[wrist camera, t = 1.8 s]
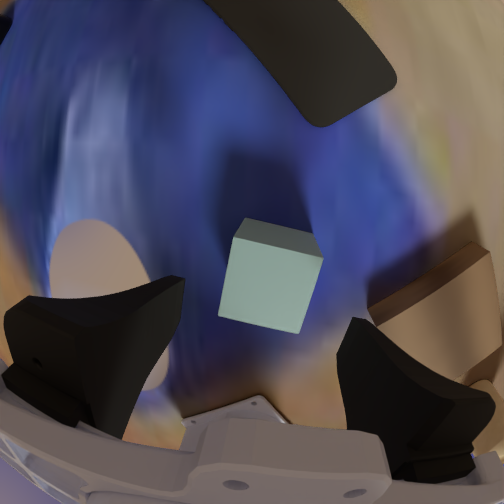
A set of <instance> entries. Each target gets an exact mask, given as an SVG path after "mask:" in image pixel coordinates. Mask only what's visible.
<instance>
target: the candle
mask: <svg viewBox="0 0 504 504" xmlns="http://www.w3.org/2000/svg"><path fill="white" fill-rule="evenodd" d="M469 387H471V388H474V389H478V390H481V391H485V392H488V393H489V394H490V395H491V397H492V398H493V400H494V402H495V404H496V409H495V413H494V415H493V417H492V419H491V421H490V422H489V423H488V425H487V426H486V427H485V428H484V430H483V431H482V432H481V433H480V434H479V435H478V436H477V438H476V439H475V440H474V441H473V442H472V444H473V446H474V451H473V454H474V456H475V457H476V456H478V455H481V454H484V453H488V452H492V451H496V452H497V454H498V456H499V458H500V460H501V462H502V464H504V400H503V399H502V398H501V396H500V395H499V393H498V392H497V390H496V389H495V387H494V386H493V385H492V383H491V382H490V381H488V380H480V381H478V382H476V383H474V384H472V385H471V386H469Z"/></svg>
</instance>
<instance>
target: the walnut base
mask: <svg viewBox="0 0 504 504" xmlns="http://www.w3.org/2000/svg"><path fill="white" fill-rule="evenodd" d="M367 310H368V312H369V314H370V316H371V318H372V320H373V322H374V324H375V326H376V327H377V328H378V329H379V330H380V331H381V332H382V333H384V334H385V335H386V336H387V337H388V338H389V339H390V340H392V341H393V342H394V343H395V344H396V345H397V346H399V347H400V348H401V349H402V350H404V351H405V352H406V353H407V354H409V355H410V356H411V357H413V358H414V359H415V360H417V361H418V362H420V363H421V364H423V365H424V366H426V367H428V368H429V369H431V370H433V371H434V372H436V373H438V374H440V375H442V376H444V377H446V378H448V379H450V380H452V381H453V380H455V379H456V378H458V377H459V376H461V375H462V374H464V373H465V372H467V371H468V370H469V369H471V368H472V367H474V366H475V365H476V364H478V363H479V362H481V361H482V360H483V359H485V358H486V357H487V356H489V355H490V354H491V353H493V352H494V351H495V350H496V349H498V348H499V347H500V346H501V345H502V331H501V318H500V309H499V300H498V293H497V286H496V280H495V274H494V269H493V264H492V259H491V254H490V251H488V250H486V249H484V248H482V247H481V246H479V245H477V244H475V243H473V242H472V241H471V242H470V243H469V244H467V245H466V246H465V247H463V248H462V249H460V250H459V251H458V252H456V253H455V254H453V255H452V256H451V257H449V258H448V259H446V260H445V261H443V262H442V263H440V264H439V265H437V266H436V267H434V268H433V269H431V270H430V271H428V272H427V273H425V274H424V275H422V276H421V277H419V278H418V279H416V280H414V281H413V282H411V283H410V284H408V285H406V286H405V287H403V288H402V289H400V290H398V291H397V292H395V293H393V294H392V295H390V296H388V297H387V298H385V299H383V300H382V301H380V302H378V303H376V304H375V305H373V306H371V307H369V308H368V309H367Z"/></svg>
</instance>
